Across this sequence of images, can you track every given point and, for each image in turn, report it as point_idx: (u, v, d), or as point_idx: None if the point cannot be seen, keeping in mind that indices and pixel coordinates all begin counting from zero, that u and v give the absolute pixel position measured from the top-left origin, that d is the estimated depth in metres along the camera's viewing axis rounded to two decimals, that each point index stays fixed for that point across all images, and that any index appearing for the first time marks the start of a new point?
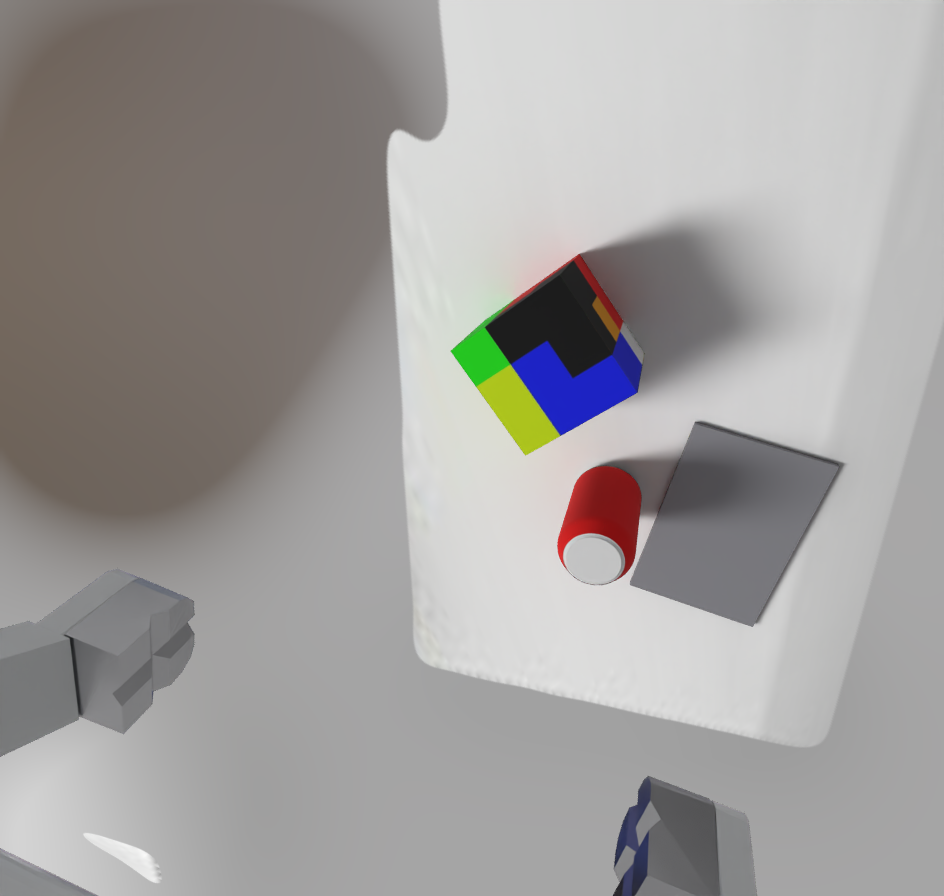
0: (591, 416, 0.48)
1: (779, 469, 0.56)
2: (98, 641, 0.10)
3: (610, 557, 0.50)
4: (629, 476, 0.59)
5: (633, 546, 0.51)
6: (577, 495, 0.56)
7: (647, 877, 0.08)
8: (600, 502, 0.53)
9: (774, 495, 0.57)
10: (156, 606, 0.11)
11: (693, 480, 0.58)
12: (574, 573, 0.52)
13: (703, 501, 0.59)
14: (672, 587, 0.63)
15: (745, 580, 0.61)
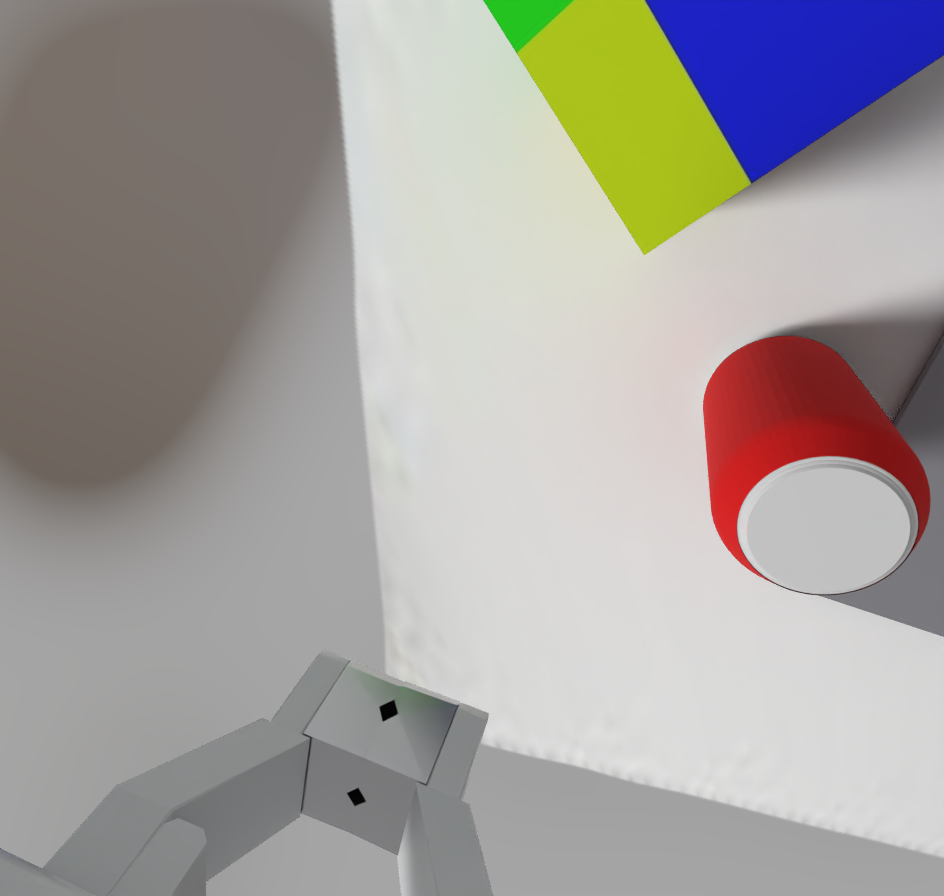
0: (857, 106, 0.17)
1: None
2: (338, 740, 0.09)
3: (879, 521, 0.19)
4: (839, 355, 0.27)
5: None
6: (739, 387, 0.24)
7: (363, 759, 0.09)
8: (818, 390, 0.21)
9: None
10: (380, 695, 0.10)
11: None
12: (765, 565, 0.20)
13: None
14: (896, 596, 0.31)
15: None
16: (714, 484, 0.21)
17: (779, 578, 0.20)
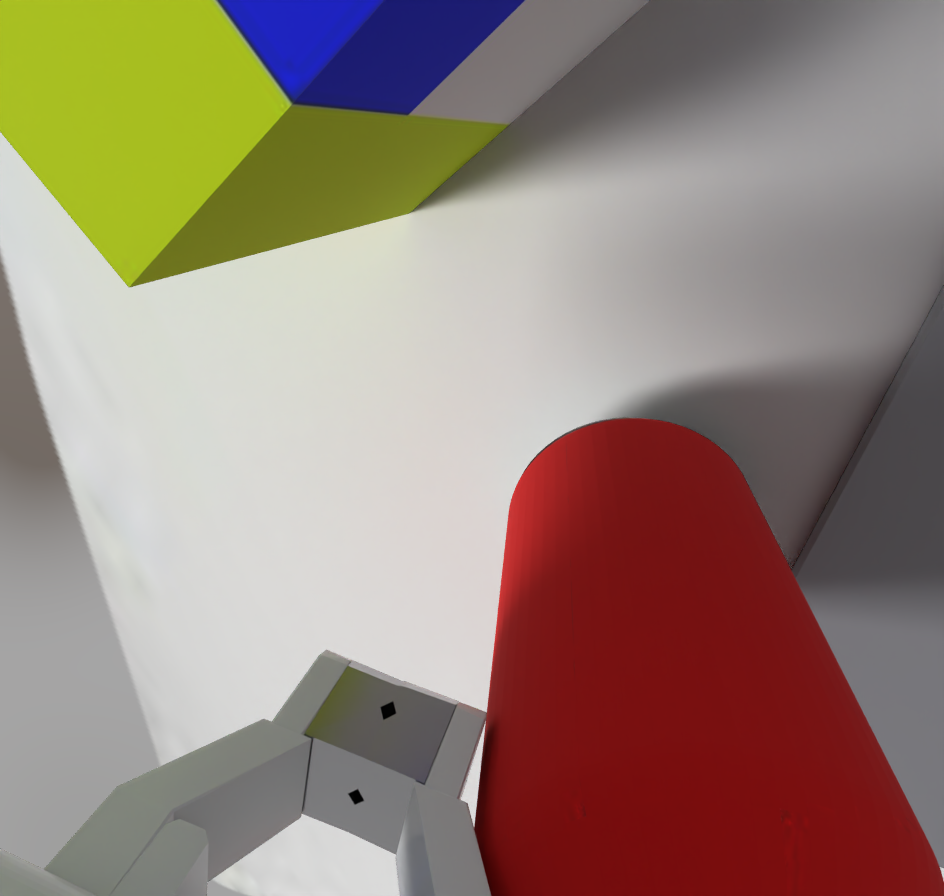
0: None
1: None
2: (339, 740, 0.09)
3: None
4: (718, 450, 0.15)
5: None
6: (539, 561, 0.12)
7: (361, 759, 0.09)
8: (682, 621, 0.10)
9: None
10: (381, 695, 0.10)
11: None
12: None
13: None
14: None
15: None
16: None
17: None
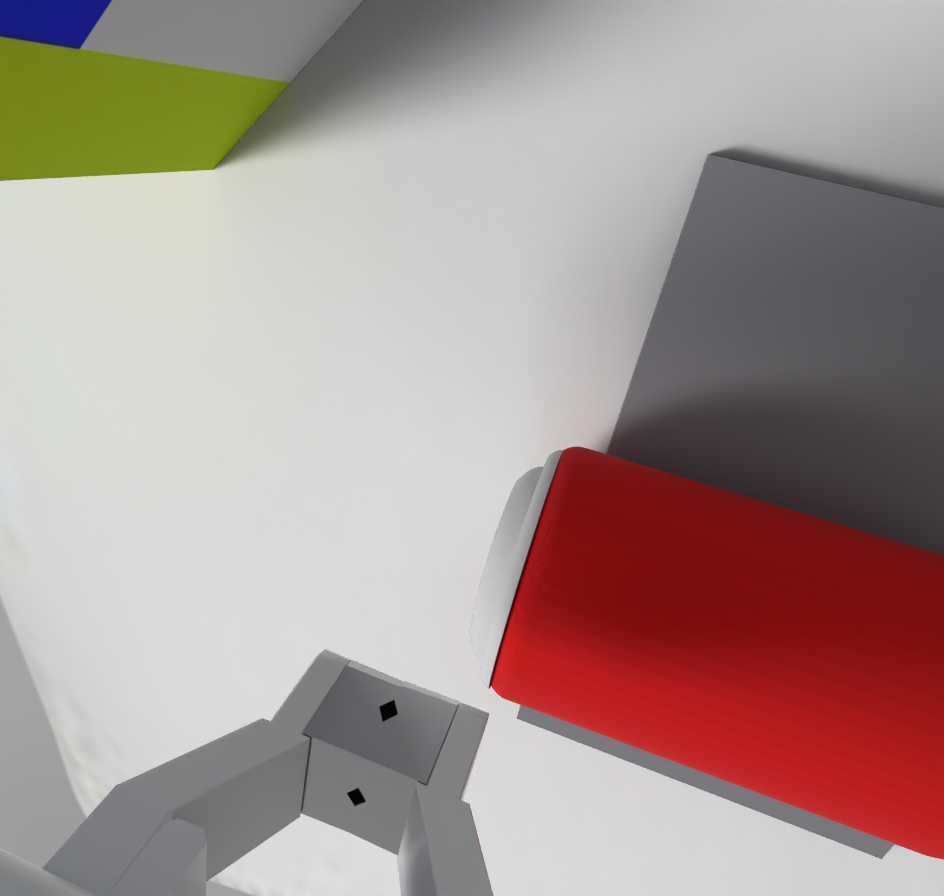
0: None
1: None
2: (338, 740, 0.09)
3: None
4: (594, 452, 0.15)
5: None
6: (758, 680, 0.12)
7: (363, 759, 0.09)
8: (917, 603, 0.12)
9: None
10: (380, 695, 0.10)
11: (702, 393, 0.16)
12: None
13: (736, 471, 0.17)
14: None
15: None
16: None
17: None
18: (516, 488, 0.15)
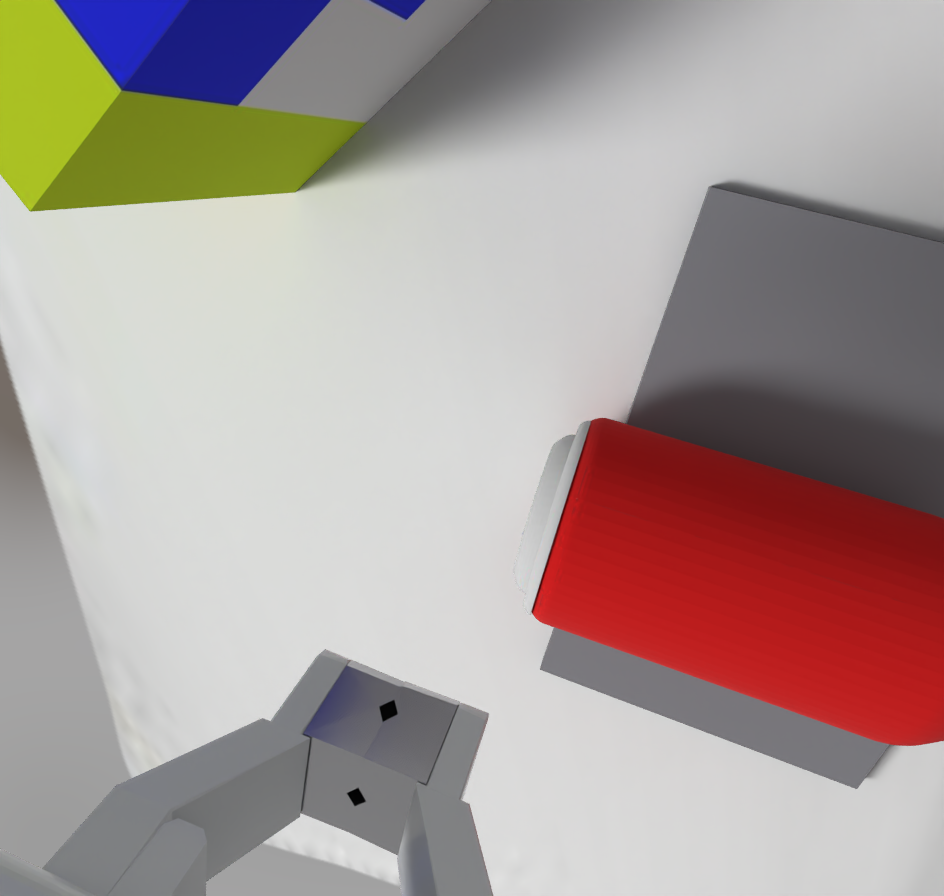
0: None
1: None
2: (338, 740, 0.09)
3: None
4: None
5: None
6: (752, 587, 0.15)
7: (363, 759, 0.09)
8: (875, 530, 0.16)
9: None
10: (380, 695, 0.10)
11: (704, 380, 0.20)
12: None
13: (731, 446, 0.20)
14: (647, 681, 0.24)
15: None
16: (928, 726, 0.15)
17: None
18: (555, 447, 0.18)
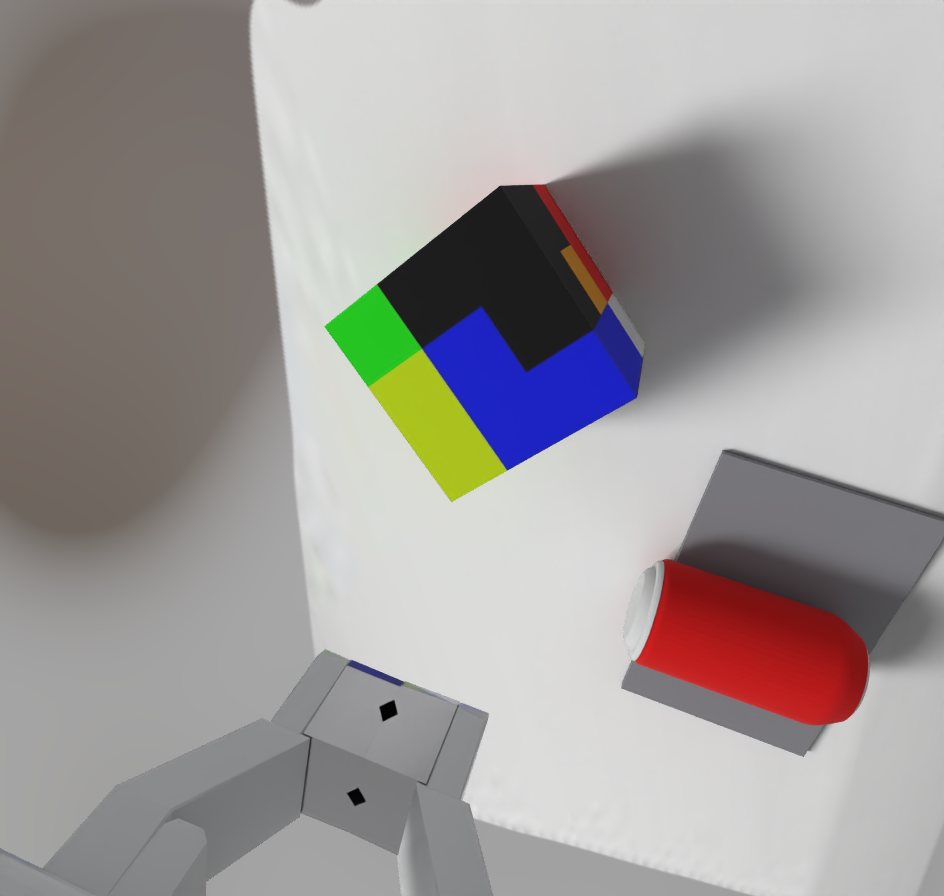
0: (558, 438, 0.28)
1: (854, 526, 0.36)
2: (338, 740, 0.09)
3: None
4: (676, 562, 0.37)
5: None
6: (744, 650, 0.34)
7: (363, 760, 0.09)
8: (800, 623, 0.34)
9: (845, 566, 0.37)
10: (380, 695, 0.10)
11: (719, 539, 0.38)
12: None
13: (733, 572, 0.39)
14: (684, 695, 0.43)
15: None
16: (824, 714, 0.33)
17: None
18: (646, 577, 0.37)
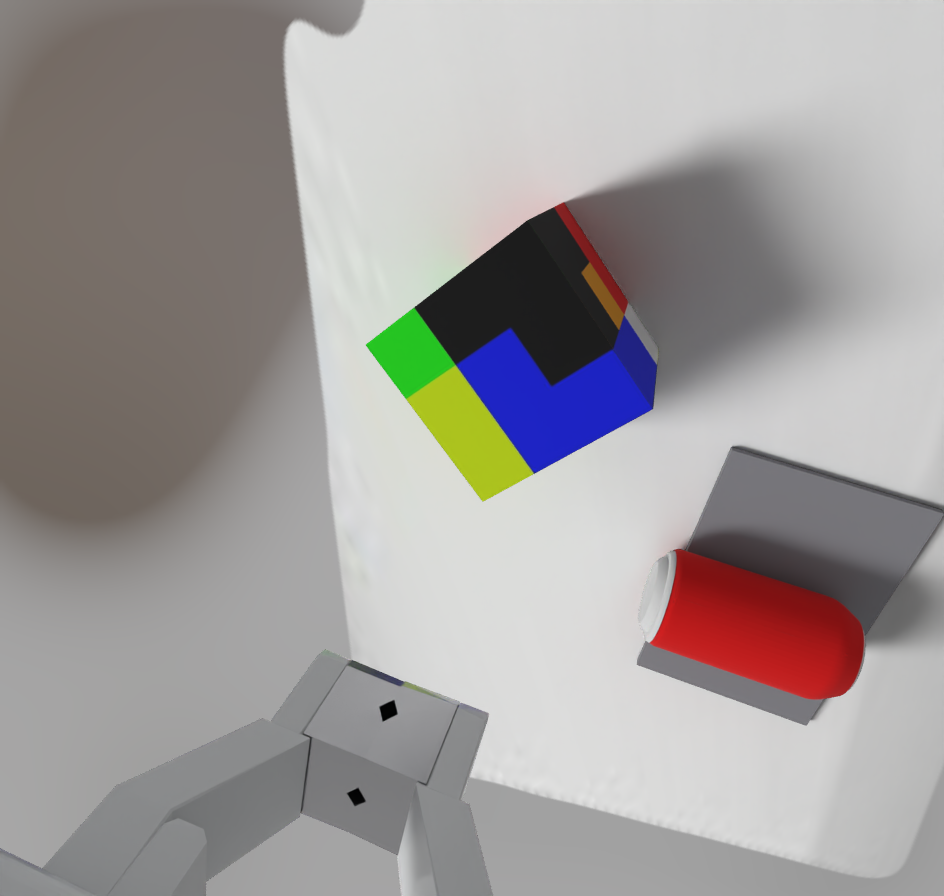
0: (581, 445, 0.31)
1: (854, 515, 0.38)
2: (338, 740, 0.09)
3: None
4: (687, 553, 0.40)
5: None
6: (750, 635, 0.37)
7: (363, 760, 0.09)
8: (802, 610, 0.37)
9: (845, 552, 0.39)
10: (380, 694, 0.10)
11: (728, 528, 0.41)
12: None
13: (741, 558, 0.42)
14: (695, 670, 0.46)
15: None
16: (822, 691, 0.37)
17: None
18: (660, 567, 0.40)
